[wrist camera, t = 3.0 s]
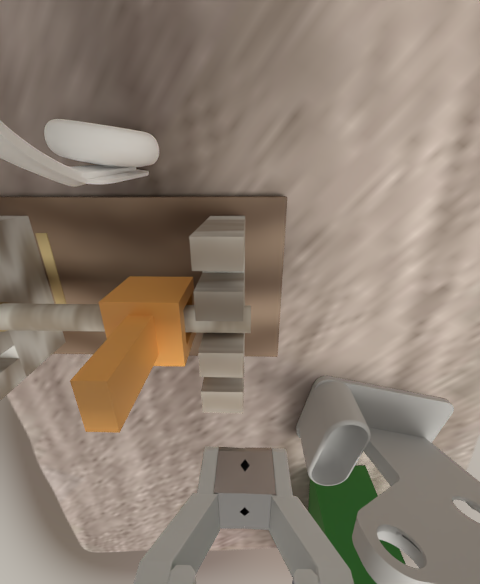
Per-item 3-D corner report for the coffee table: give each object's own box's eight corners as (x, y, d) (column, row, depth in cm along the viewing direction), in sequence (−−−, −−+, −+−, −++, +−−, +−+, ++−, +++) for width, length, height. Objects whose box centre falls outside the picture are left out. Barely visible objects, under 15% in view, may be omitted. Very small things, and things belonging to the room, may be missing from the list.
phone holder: (290, 432, 35) (328, 660, 18) (315, 371, 31) (391, 590, 15) (415, 455, 36) (558, 690, 19) (454, 398, 32) (675, 632, 16)
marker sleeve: (129, 276, 21) (24, 362, 11) (192, 276, 21) (143, 364, 11) (138, 329, 23) (55, 444, 13) (197, 330, 23) (157, 446, 13)
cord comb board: (-45, 196, 25) (-235, 208, 15) (284, 196, 24) (310, 208, 14) (12, 345, 31) (-96, 421, 21) (276, 348, 30) (289, 429, 20)
